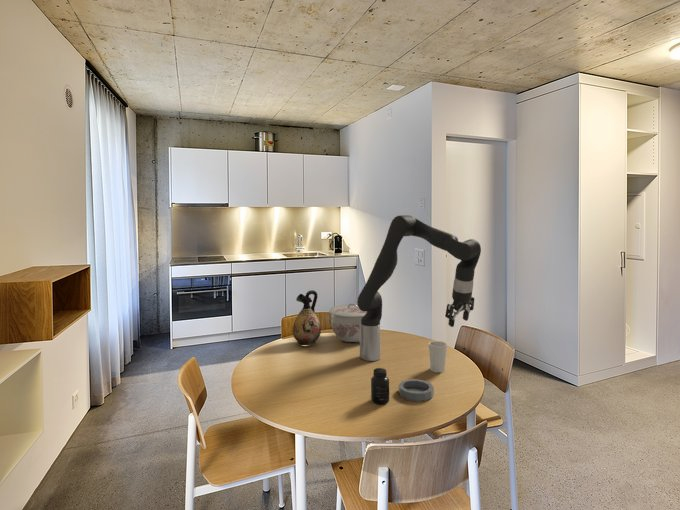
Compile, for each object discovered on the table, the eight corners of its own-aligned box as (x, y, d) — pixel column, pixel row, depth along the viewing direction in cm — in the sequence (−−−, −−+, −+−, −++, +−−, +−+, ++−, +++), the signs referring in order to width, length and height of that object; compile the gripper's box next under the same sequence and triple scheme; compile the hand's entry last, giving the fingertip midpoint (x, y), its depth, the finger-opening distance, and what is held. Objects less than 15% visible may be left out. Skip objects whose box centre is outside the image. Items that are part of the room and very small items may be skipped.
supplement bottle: (369, 397, 151) (369, 367, 150) (387, 396, 151) (387, 366, 150) (372, 405, 144) (372, 374, 143) (391, 404, 145) (391, 373, 143)
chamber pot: (382, 345, 213) (382, 307, 211) (333, 348, 209) (332, 310, 207) (370, 330, 241) (370, 297, 239) (326, 333, 236) (325, 299, 234)
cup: (447, 373, 173) (447, 347, 171) (428, 372, 174) (428, 346, 173) (446, 367, 180) (446, 341, 179) (428, 366, 182) (428, 340, 181)
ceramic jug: (300, 350, 206) (299, 294, 203) (288, 343, 219) (287, 290, 216) (328, 344, 215) (327, 290, 212) (315, 337, 228) (314, 286, 225)
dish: (394, 397, 151) (394, 389, 150) (405, 384, 162) (405, 377, 162) (427, 404, 144) (427, 396, 144) (436, 390, 156) (437, 383, 156)
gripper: (467, 280, 163) (462, 314, 169) (443, 289, 156) (439, 323, 162) (482, 287, 157) (476, 321, 164) (458, 296, 150) (453, 332, 156)
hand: (458, 322), depth 163 cm, fingers open, 8 cm apart
